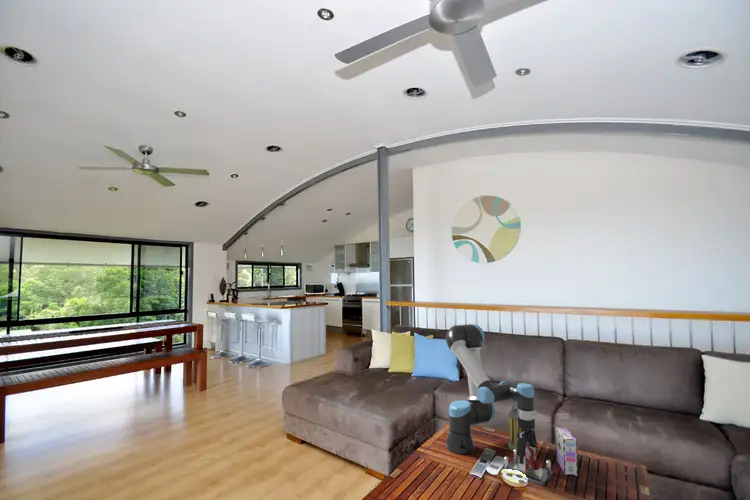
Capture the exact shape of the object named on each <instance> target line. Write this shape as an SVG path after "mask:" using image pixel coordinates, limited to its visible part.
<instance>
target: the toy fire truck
mask: <svg viewBox="0 0 750 500" xmlns="http://www.w3.org/2000/svg"><path fill="white" fill-rule="evenodd" d="M524 456H525V462H526V471H527V470H528V467H529V468H530V469H534V470H538V468H539V467H540V465H539V461H538V460H536V459H535V460H534V450H533V449H532V448H531V447H530V446H528V445H526V450H525V455H524ZM517 461H518V464H519V456H517Z"/></svg>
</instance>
